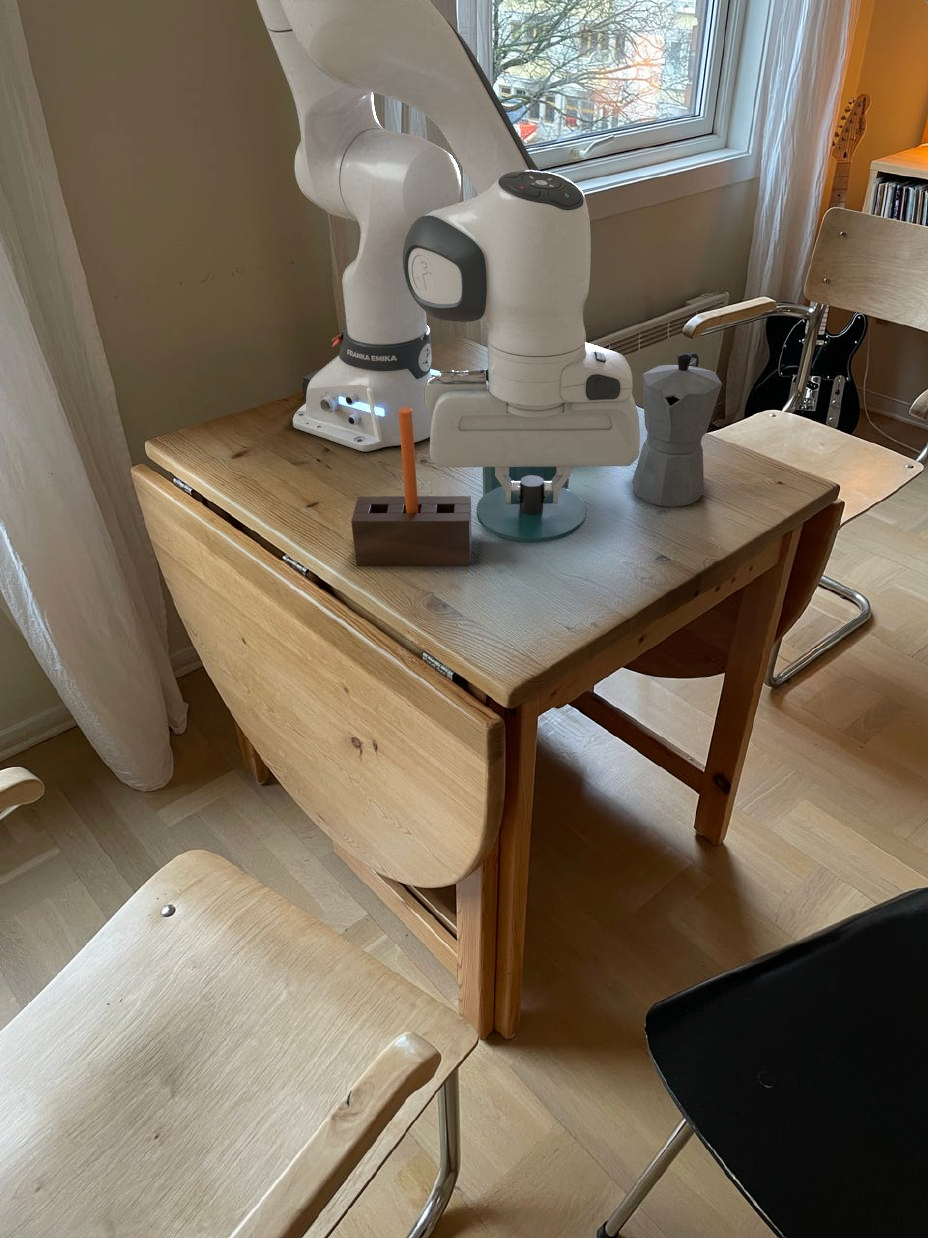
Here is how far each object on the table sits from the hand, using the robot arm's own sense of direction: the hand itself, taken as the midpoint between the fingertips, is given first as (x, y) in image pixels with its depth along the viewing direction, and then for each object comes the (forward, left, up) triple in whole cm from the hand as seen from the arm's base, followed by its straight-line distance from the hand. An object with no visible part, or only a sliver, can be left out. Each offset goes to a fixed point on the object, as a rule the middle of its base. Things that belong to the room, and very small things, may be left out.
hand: (531, 501), depth 90 cm
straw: (-16, +3, -12) cm, 20 cm away
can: (-7, +15, -12) cm, 20 cm away
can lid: (0, 0, -1) cm, 1 cm away
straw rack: (-16, +3, -12) cm, 20 cm away
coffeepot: (+7, +30, -12) cm, 33 cm away
